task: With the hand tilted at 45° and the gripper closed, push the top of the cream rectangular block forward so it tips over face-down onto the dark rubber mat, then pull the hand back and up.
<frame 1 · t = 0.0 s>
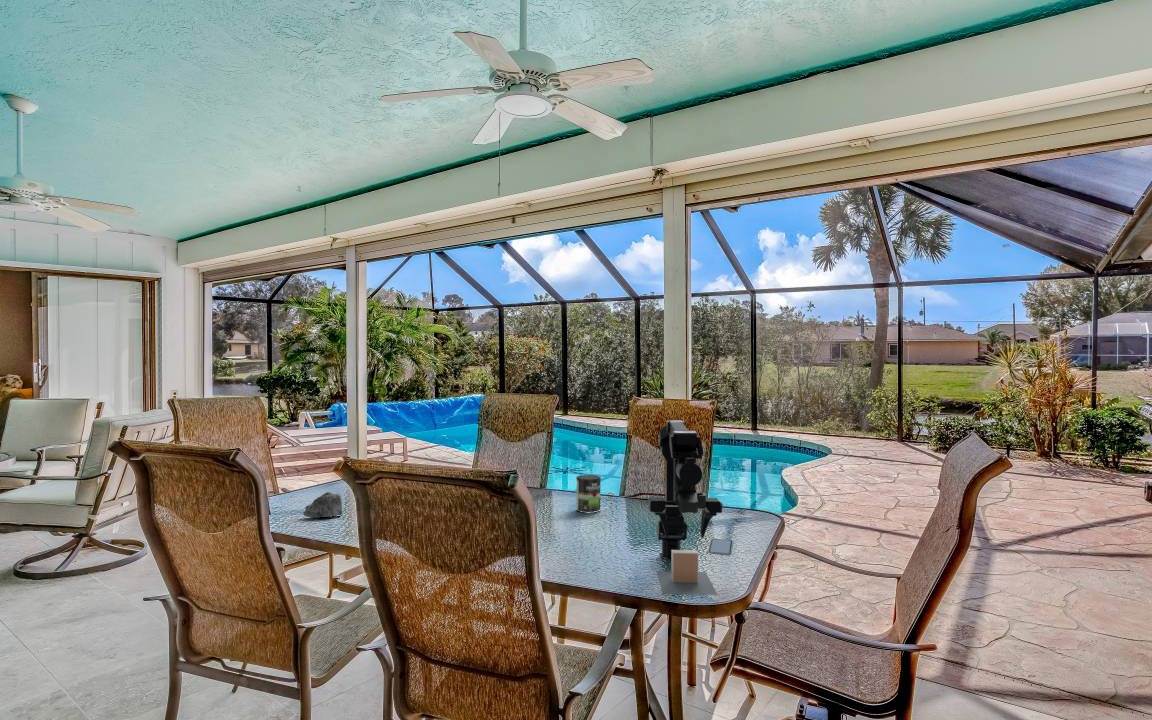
hand: (684, 537, 153), 15 cm above the table, tool pointing down, fingers open, 9 cm apart
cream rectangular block: (684, 580, 159), point 1 cm above the table, touching mat
mat: (685, 586, 158), on the table
mineral rock: (324, 517, 230), on the table
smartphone: (720, 549, 192), on the table
coffee can: (588, 511, 242), on the table
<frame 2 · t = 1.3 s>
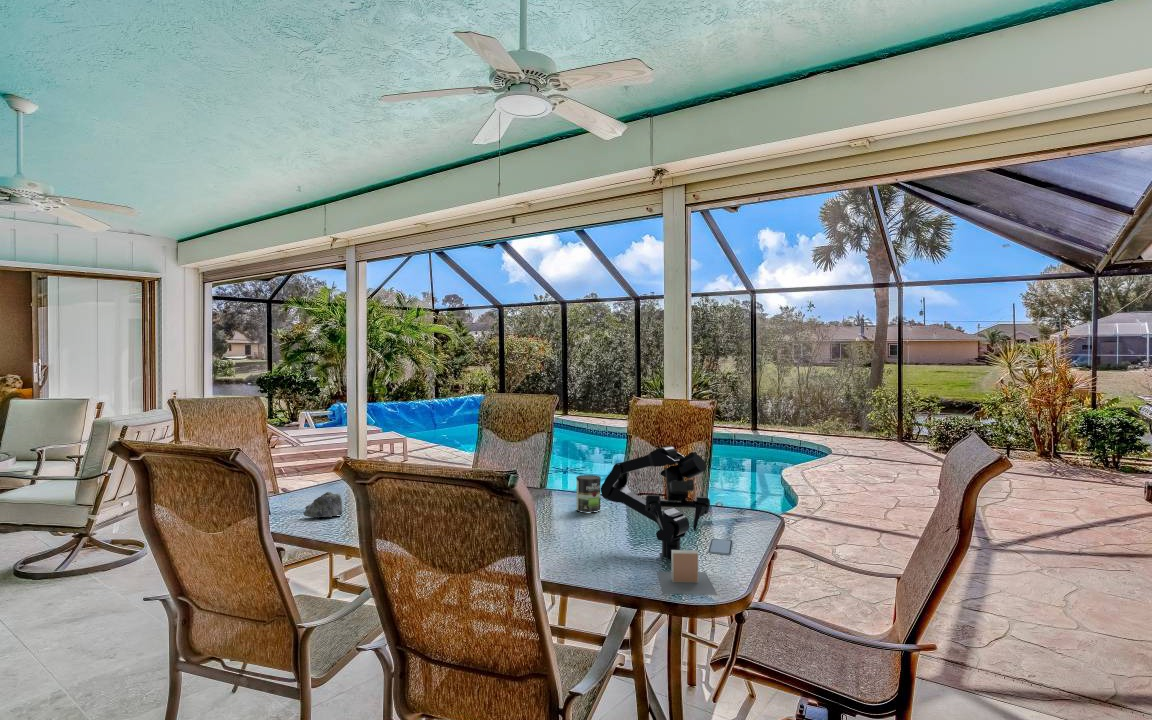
hand: (679, 530, 167), 13 cm above the table, tool tilted 45°, fingers open, 9 cm apart
nothing on the table moved.
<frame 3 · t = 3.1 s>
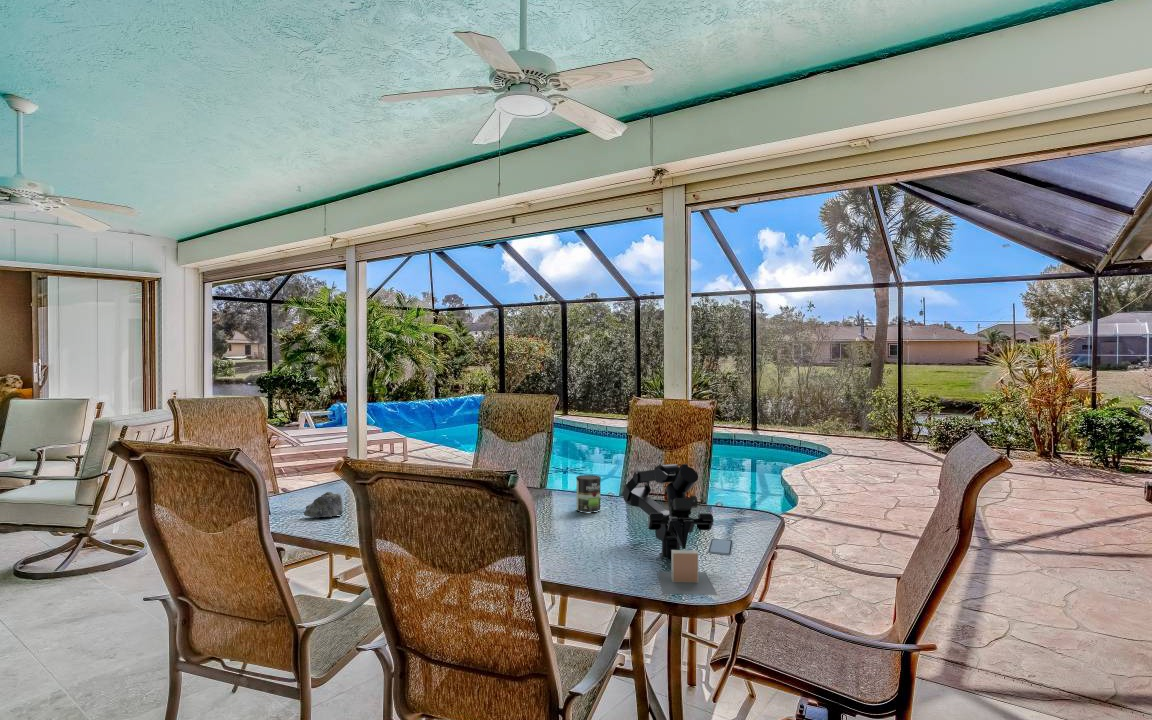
hand: (684, 548, 165), 8 cm above the table, tool tilted 45°, fingers closed
nothing on the table moved.
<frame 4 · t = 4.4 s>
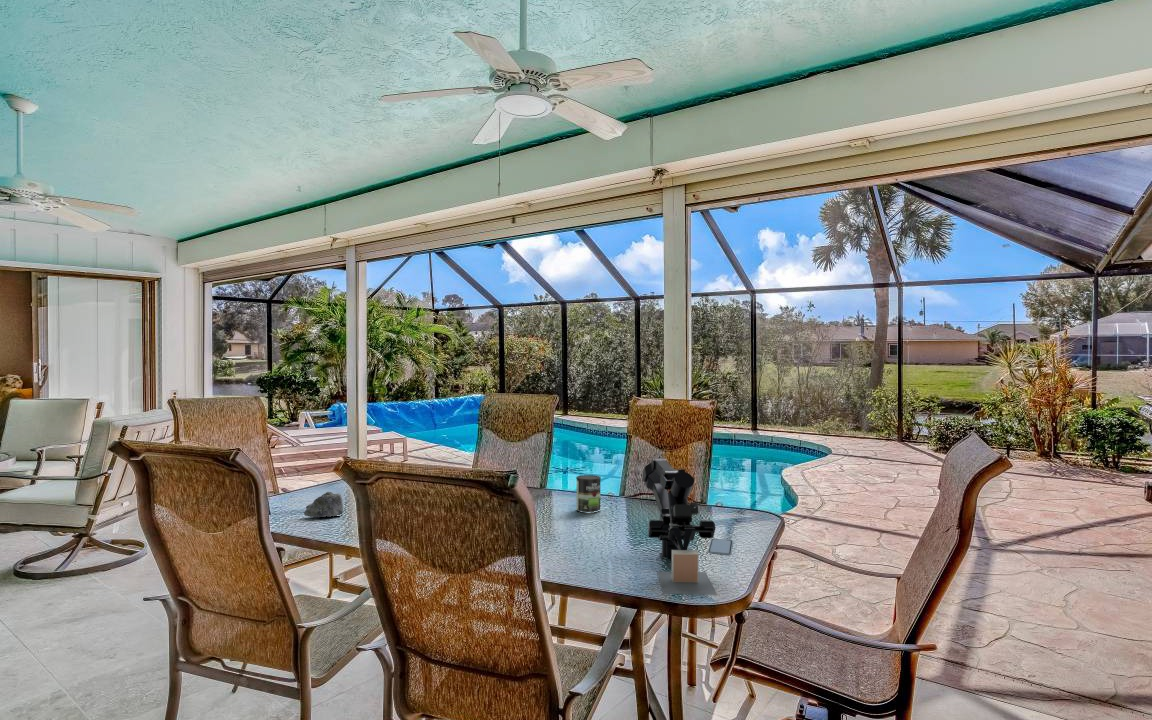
hand: (684, 556, 160), 7 cm above the table, tool tilted 45°, fingers closed, pressing on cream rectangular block
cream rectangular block: (684, 580, 159), point 1 cm above the table, touching gripper, mat
everything else where it was.
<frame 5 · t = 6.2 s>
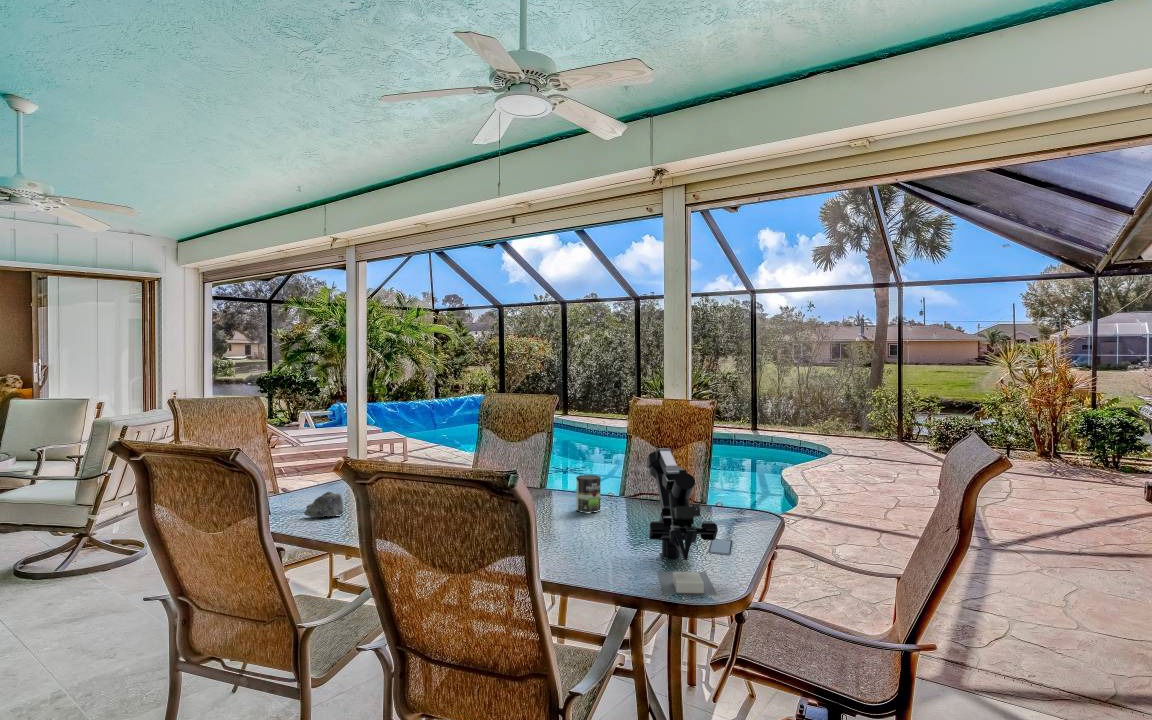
hand: (685, 559, 157), 8 cm above the table, tool tilted 45°, fingers closed
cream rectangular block: (685, 576, 157), point 3 cm above the table, tilted 90°, touching mat
everything else where it was.
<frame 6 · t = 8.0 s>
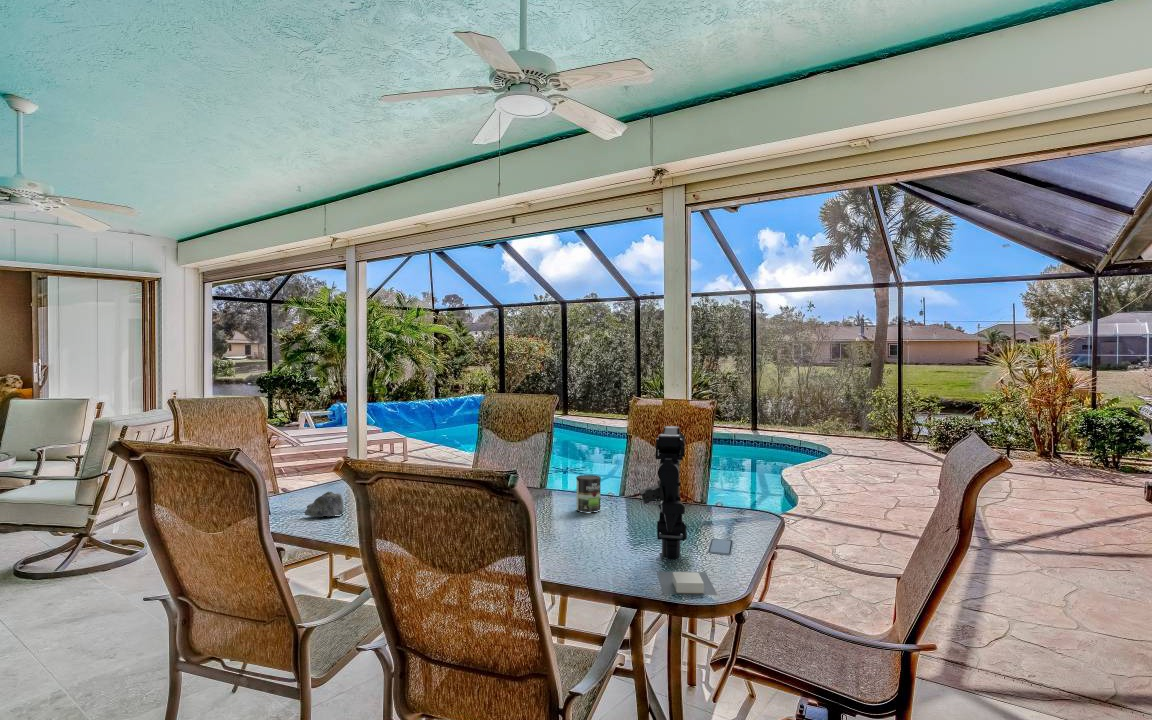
hand: (669, 531, 167), 12 cm above the table, tool pointing down, fingers closed
nothing on the table moved.
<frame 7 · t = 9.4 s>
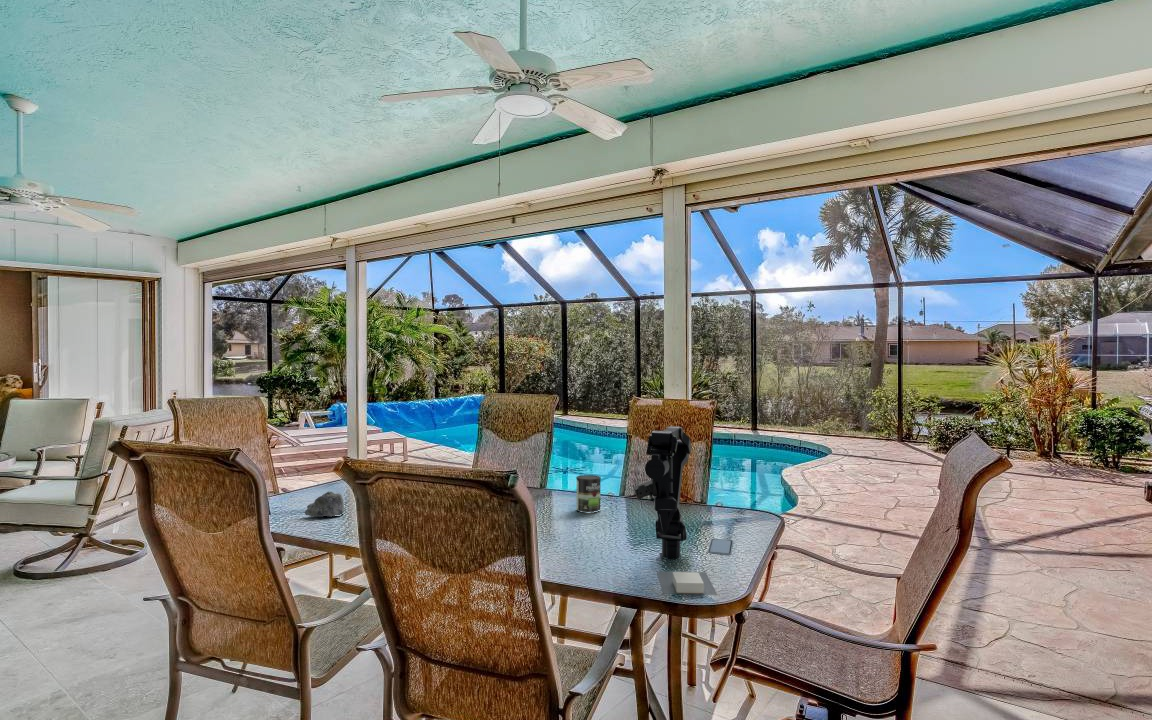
hand: (662, 526, 169), 13 cm above the table, tool pointing down, fingers open, 9 cm apart
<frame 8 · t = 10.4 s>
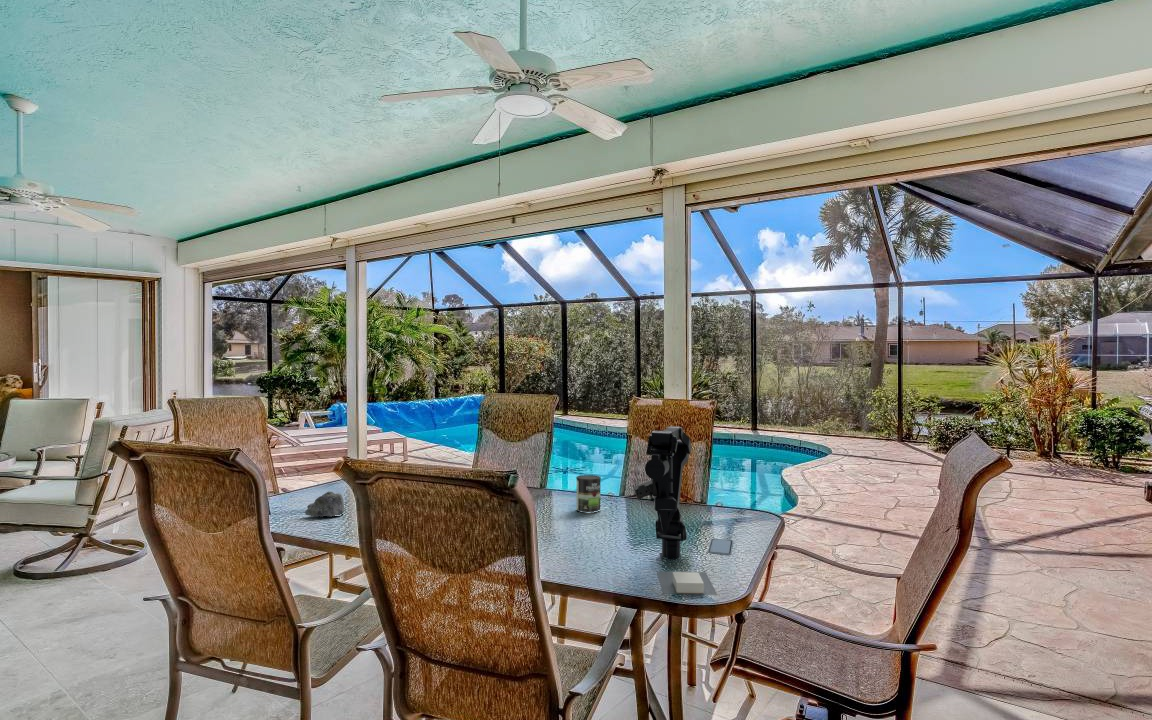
hand: (662, 526, 169), 13 cm above the table, tool pointing down, fingers open, 9 cm apart
at the end: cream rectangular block tilted 90°; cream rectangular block inside the target area (3.2 cm from its centre), point 2.5 cm above the table; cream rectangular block touching mat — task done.
